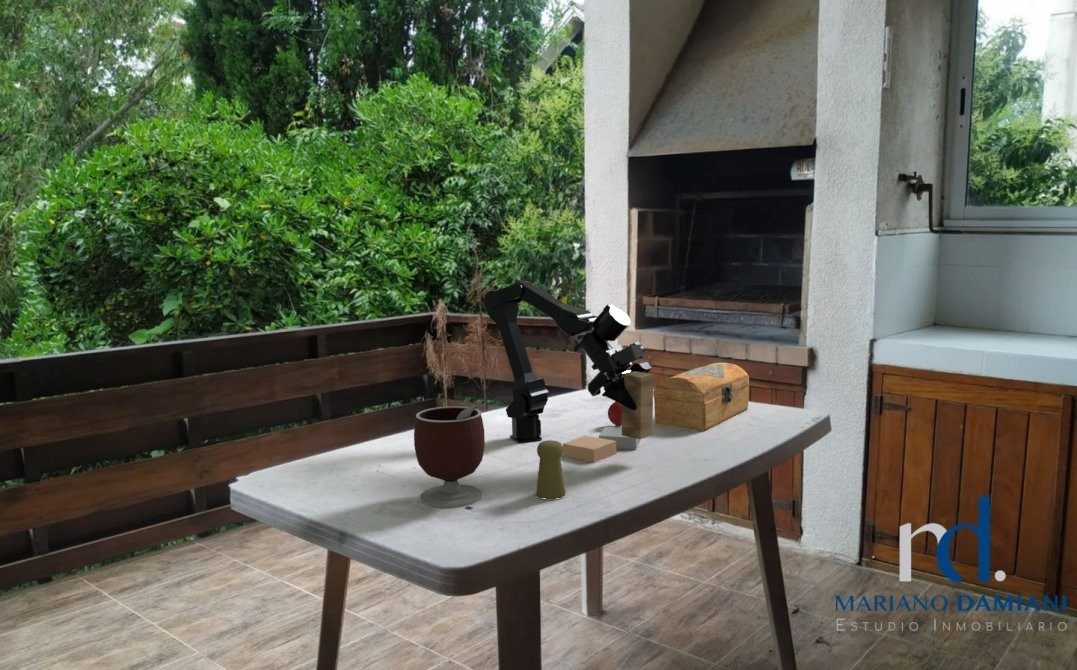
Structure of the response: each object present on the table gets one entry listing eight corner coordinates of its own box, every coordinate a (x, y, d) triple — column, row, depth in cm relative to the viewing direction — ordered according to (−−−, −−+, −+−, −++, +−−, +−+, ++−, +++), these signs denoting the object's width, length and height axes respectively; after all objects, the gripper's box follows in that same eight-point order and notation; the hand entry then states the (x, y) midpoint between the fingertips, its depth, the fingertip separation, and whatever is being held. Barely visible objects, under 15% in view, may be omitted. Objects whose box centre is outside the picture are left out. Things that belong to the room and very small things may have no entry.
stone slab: (598, 447, 190) (598, 435, 190) (605, 438, 199) (605, 426, 199) (635, 449, 188) (635, 437, 188) (640, 440, 197) (640, 428, 196)
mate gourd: (402, 497, 157) (398, 399, 154) (457, 481, 167) (453, 389, 164) (450, 516, 146) (447, 411, 143) (506, 498, 156) (503, 399, 153)
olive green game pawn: (531, 492, 159) (530, 439, 157) (559, 488, 161) (558, 436, 159) (542, 501, 153) (541, 447, 152) (570, 497, 155) (569, 443, 154)
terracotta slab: (562, 455, 184) (562, 443, 184) (585, 447, 191) (585, 435, 191) (594, 462, 179) (593, 449, 178) (616, 453, 185) (616, 441, 185)
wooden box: (707, 433, 203) (707, 380, 201) (651, 424, 213) (651, 374, 212) (754, 411, 226) (754, 364, 225) (702, 404, 237) (702, 359, 235)
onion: (630, 429, 208) (630, 399, 207) (608, 429, 208) (608, 400, 207) (628, 424, 213) (628, 395, 212) (607, 424, 213) (607, 395, 212)
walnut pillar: (621, 435, 177) (622, 374, 175) (633, 430, 181) (634, 371, 179) (640, 439, 174) (641, 377, 172) (652, 434, 178) (653, 374, 176)
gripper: (598, 336, 170) (641, 392, 164) (644, 327, 184) (685, 378, 179) (569, 368, 176) (610, 423, 170) (616, 357, 190) (655, 407, 185)
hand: (642, 407), depth 176 cm, fingers closed on walnut pillar, 5 cm apart
